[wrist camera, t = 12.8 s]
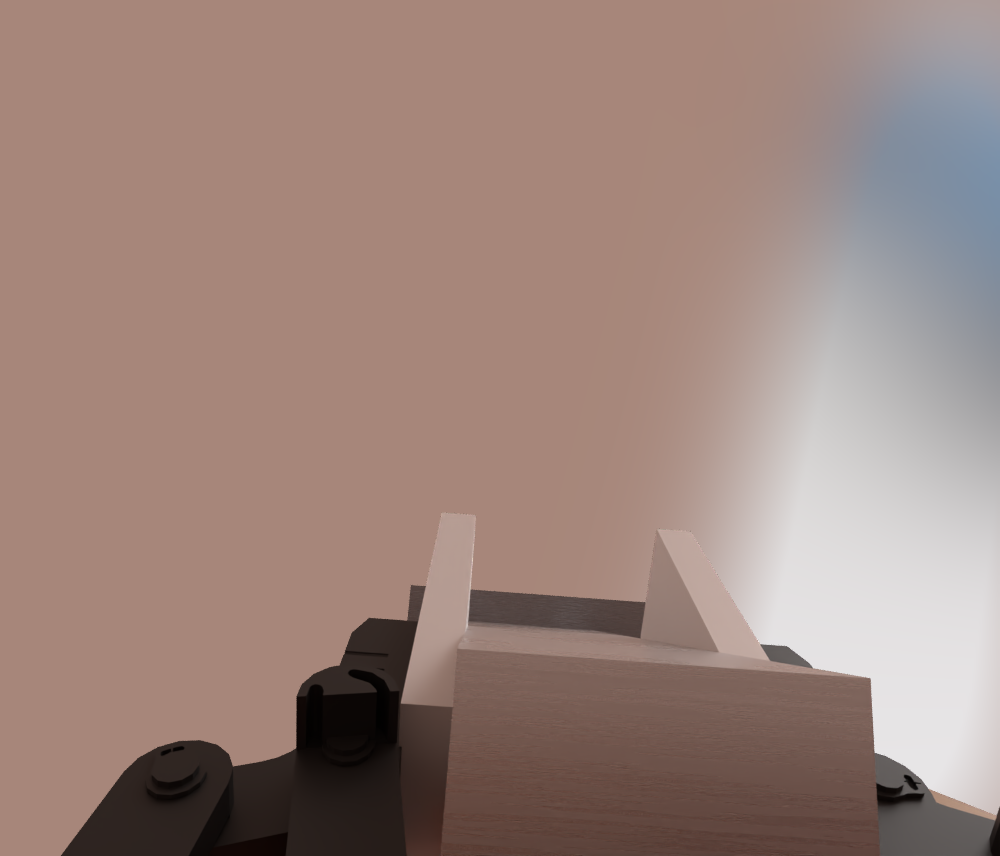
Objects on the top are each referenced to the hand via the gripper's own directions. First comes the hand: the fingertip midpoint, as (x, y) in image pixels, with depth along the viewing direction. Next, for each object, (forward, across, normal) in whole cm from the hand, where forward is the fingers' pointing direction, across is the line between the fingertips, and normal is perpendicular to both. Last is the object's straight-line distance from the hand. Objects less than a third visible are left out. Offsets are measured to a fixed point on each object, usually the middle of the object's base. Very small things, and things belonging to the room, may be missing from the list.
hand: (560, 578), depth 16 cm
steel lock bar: (0, 0, +5) cm, 5 cm away
